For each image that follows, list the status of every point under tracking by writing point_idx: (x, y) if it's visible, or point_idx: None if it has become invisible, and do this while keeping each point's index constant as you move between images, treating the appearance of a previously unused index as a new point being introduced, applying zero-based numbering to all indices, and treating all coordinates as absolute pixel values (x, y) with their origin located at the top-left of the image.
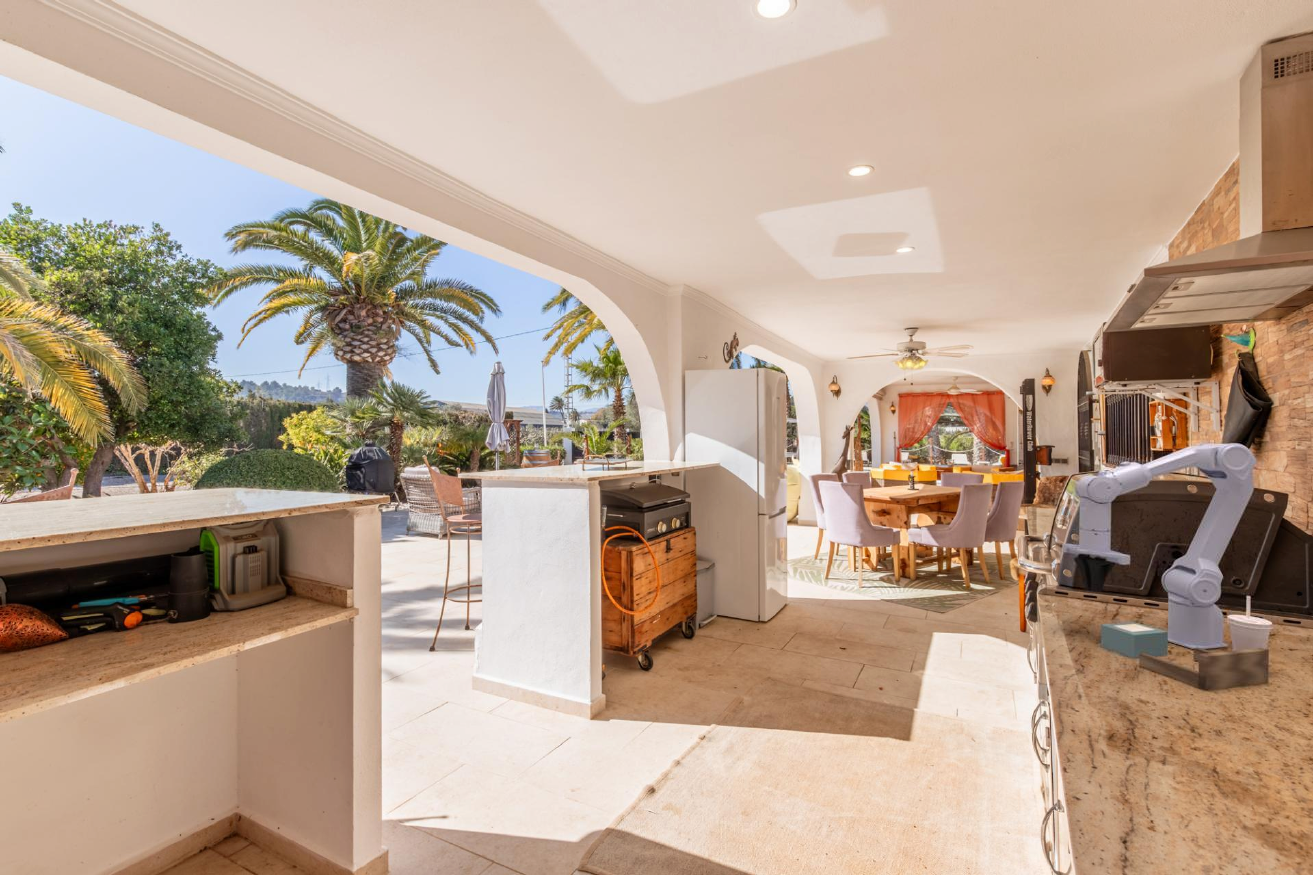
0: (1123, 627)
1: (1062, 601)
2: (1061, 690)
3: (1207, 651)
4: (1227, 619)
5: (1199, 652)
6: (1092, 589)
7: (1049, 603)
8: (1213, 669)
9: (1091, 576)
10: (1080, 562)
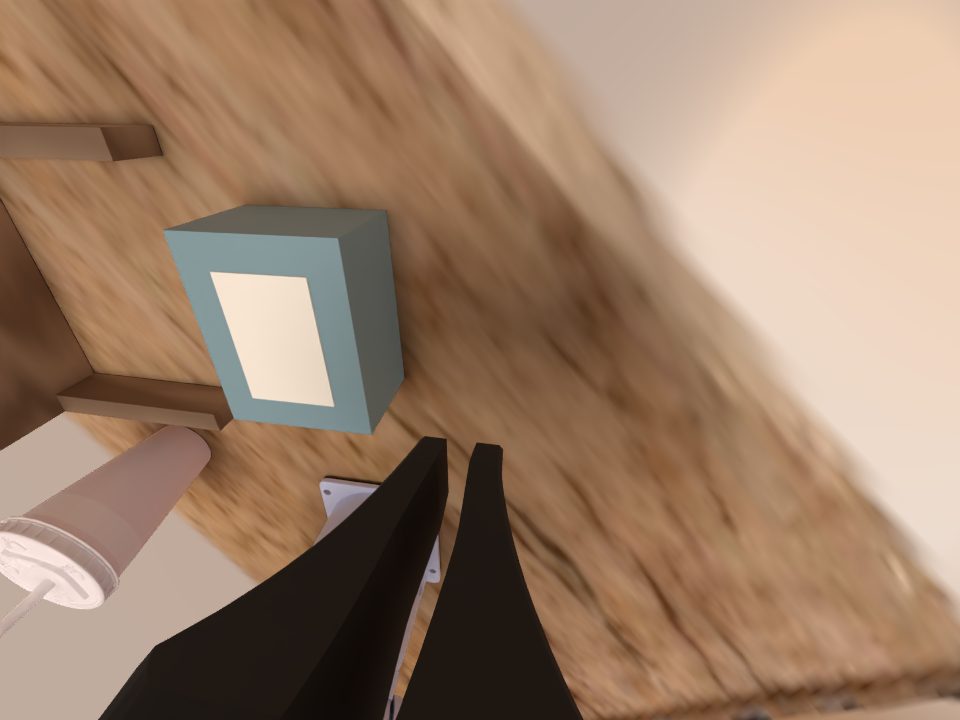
0: (278, 299)
1: (890, 627)
2: None
3: (181, 416)
4: (82, 548)
5: (203, 407)
6: (433, 444)
7: (919, 575)
8: None
9: (389, 529)
10: (454, 697)
